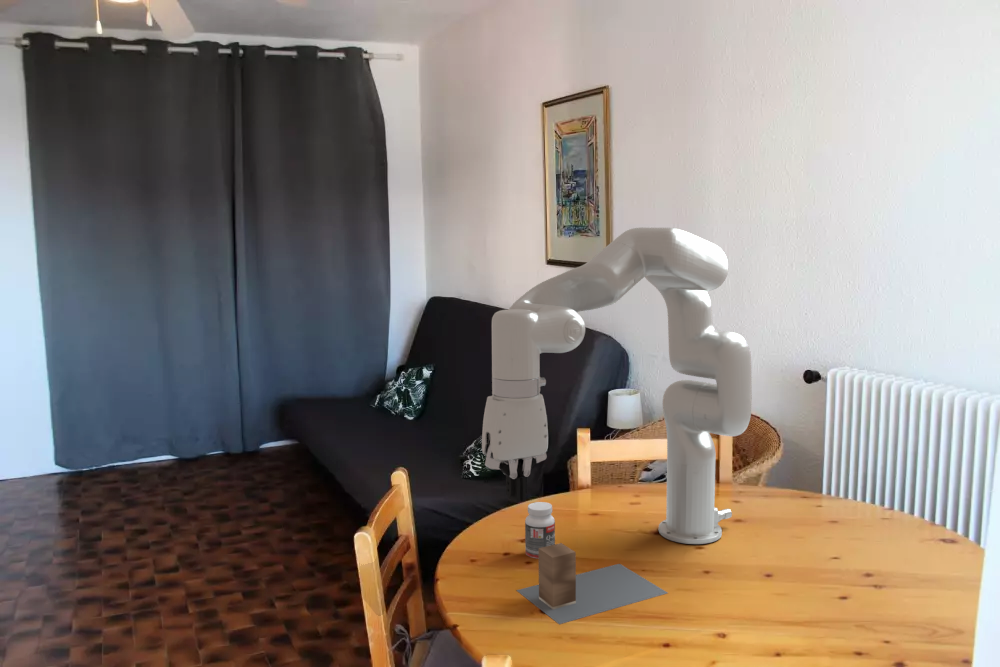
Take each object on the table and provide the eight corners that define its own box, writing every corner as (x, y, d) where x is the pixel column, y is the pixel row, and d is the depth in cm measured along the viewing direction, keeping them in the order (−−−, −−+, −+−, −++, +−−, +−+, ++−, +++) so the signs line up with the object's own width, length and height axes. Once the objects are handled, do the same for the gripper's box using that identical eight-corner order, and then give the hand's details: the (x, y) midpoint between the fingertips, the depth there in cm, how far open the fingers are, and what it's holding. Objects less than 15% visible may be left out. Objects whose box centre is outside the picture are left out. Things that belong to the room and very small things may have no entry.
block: (561, 592, 145) (561, 542, 144) (575, 603, 141) (575, 552, 140) (539, 598, 143) (538, 548, 142) (552, 609, 139) (552, 557, 138)
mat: (619, 566, 157) (619, 563, 156) (668, 596, 144) (668, 592, 144) (516, 593, 146) (516, 590, 146) (559, 627, 134) (559, 624, 134)
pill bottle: (552, 562, 159) (552, 512, 158) (523, 560, 160) (522, 510, 159) (556, 550, 165) (556, 501, 163) (528, 548, 166) (527, 500, 164)
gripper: (544, 379, 140) (544, 486, 142) (463, 388, 133) (464, 500, 135) (568, 387, 133) (568, 498, 136) (484, 397, 126) (486, 514, 129)
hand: (516, 499), depth 136 cm, fingers closed
